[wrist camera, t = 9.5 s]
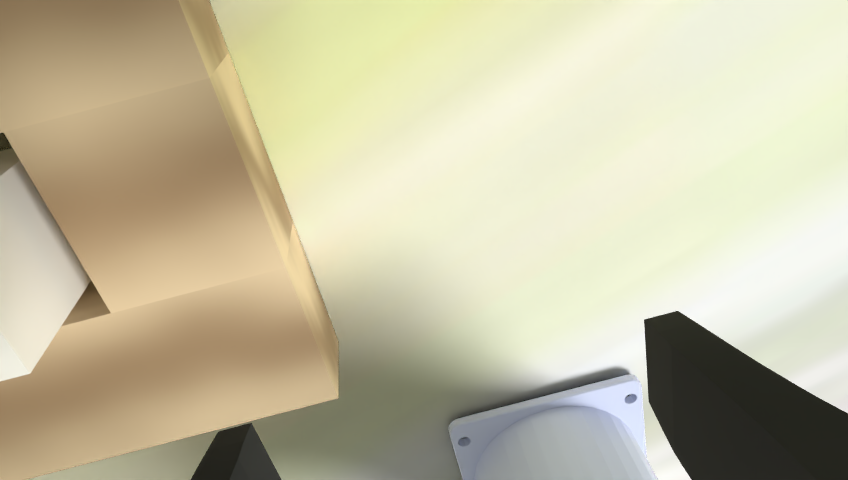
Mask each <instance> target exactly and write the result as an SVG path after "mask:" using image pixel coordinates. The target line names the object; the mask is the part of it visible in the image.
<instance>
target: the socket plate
mask: <svg viewBox="0 0 848 480" xmlns="http://www.w3.org/2000/svg"><path fill="white" fill-rule="evenodd" d="M3 132H4V134H5V136H6V138H7V139H8V141H9V143H10V144H11V146H12V148H13V149H14V151H15V153H16V154H17V156H18V158H19V159H20V161H21V163H22V164H23V166H24V168H25V169H26V171H27V173H28V175H29V176H30V178H31V180H32V181H33V183H34V185H35V186H36V188H37V190H38V191H39V193H40V195H41V196H42V198H43V200H44V201H45V203H46V205H47V207H48V208H49V210H50V212H51V213H52V215H53V217H54V218H55V220H56V222H57V223H58V225H59V227H60V228H61V230H62V232H63V233H64V235H65V237H66V238H67V240H68V242H69V244H70V245H71V247H72V249H73V250H74V252H75V254H76V255H77V257H78V259H79V260H80V262H81V264H82V265H83V267H84V269H85V270H86V272H87V274H88V275H89V277H90V279H91V281H90V283H89V284H88V286H87V287H86V289H85V291H84V292H83V294H82V295H81V297H80V298H79V300H78V301H77V303H76V304H75V306H74V307H73V309H72V310H71V312H70V314H69V315H68V317H67V318H66V320H65V321H64V323H63V324H62V326H61V327H60V329H59V330H58V332H57V333H56V335H55V336H54V338H53V340H52V341H51V343H50V344H49V346H48V347H47V349H46V350H45V352H44V353H43V355H42V356H41V358H40V359H39V361H38V363H37V364H36V366H35V367H34V369H33V370H32V372H31V373H30V374H27V375H23V376H19V377H15V378H12V379H8V380H4V381H0V480H26V479H30V478H34V477H38V476H42V475H45V474H49V473H53V472H57V471H61V470H65V469H69V468H72V467H76V466H80V465H84V464H88V463H92V462H95V461H99V460H103V459H107V458H111V457H115V456H119V455H122V454H126V453H130V452H134V451H138V450H142V449H145V448H149V447H153V446H157V445H161V444H165V443H169V442H172V441H176V440H180V439H184V438H188V437H192V436H195V435H199V434H203V433H207V432H211V431H215V430H219V429H222V428H226V427H230V426H234V425H238V424H242V423H245V422H249V421H253V420H257V419H261V418H265V417H269V416H272V415H276V414H280V413H284V412H288V411H292V410H295V409H299V408H303V407H307V406H311V405H315V404H319V403H322V402H326V401H330V400H334V399H338V398H339V342H338V339H337V336H336V334H335V331H334V328H333V326H332V323H331V320H330V318H329V315H328V313H327V310H326V307H325V305H324V302H323V299H322V297H321V294H320V291H319V289H318V286H317V284H316V281H315V278H314V276H313V273H312V270H311V268H310V265H309V262H308V260H307V257H306V255H305V252H304V249H303V247H302V244H301V241H300V239H299V236H298V233H297V231H296V228H295V226H294V223H293V220H292V218H291V215H290V212H289V210H288V207H287V204H286V202H285V199H284V197H283V194H282V191H281V189H280V186H279V183H278V181H277V178H276V175H275V173H274V170H273V168H272V165H271V162H270V160H269V157H268V154H267V152H266V149H265V146H264V144H263V141H262V139H261V136H260V133H259V131H258V128H257V125H256V123H255V120H254V117H253V115H252V112H251V110H250V107H249V104H248V102H247V99H246V96H245V94H244V91H243V88H242V86H241V83H240V81H239V78H238V75H237V73H236V70H235V67H234V65H233V62H232V59H231V57H230V54H229V52H228V49H227V46H226V44H225V41H224V38H223V36H222V33H221V30H220V28H219V25H218V23H217V20H216V17H215V15H214V12H213V9H212V7H211V4H210V1H209V0H0V133H3Z"/></svg>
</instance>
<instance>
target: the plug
mask: <svg viewBox="0 0 848 480" xmlns="http://www.w3.org/2000/svg"><path fill="white" fill-rule="evenodd" d="M90 281H91V279H90V277H89V275H88V274H87V272H86V270H85V269H84V267H83V265H82V264H81V262H80V260H79V259H78V257H77V255H76V254H75V252H74V250H73V249H72V247H71V245H70V244H69V242H68V240H67V238H66V237H65V235H64V233H63V232H62V230H61V228H60V227H59V225H58V223H57V222H56V220H55V218H54V217H53V215H52V213H51V212H50V210H49V208H48V207H47V205H46V203H45V201H44V200H43V198H42V196H41V195H40V193H39V191H38V190H37V188H36V186H35V185H34V183H33V181H32V180H31V178H30V176H29V175H28V173H27V171H26V169H25V168H24V166H23V164H22V163H21V161H20V159H19V158H18V156H17V154H16V153H15V151H14V149H13V148H10V149H6V150H2V151H0V381H4V380H8V379H12V378H15V377H19V376H23V375H27V374H30V373H31V372H32V370H33V369H34V367H35V366H36V364H37V363H38V361H39V359H40V358H41V356H42V355H43V353H44V352H45V350H46V349H47V347H48V346H49V344H50V343H51V341H52V340H53V338H54V336H55V335H56V333H57V332H58V330H59V329H60V327H61V326H62V324H63V323H64V321H65V320H66V318H67V317H68V315H69V314H70V312H71V310H72V309H73V307H74V306H75V304H76V303H77V301H78V300H79V298H80V297H81V295H82V294H83V292H84V291H85V289H86V287H87V286H88V284H89V283H90Z"/></svg>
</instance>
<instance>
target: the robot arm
mask: <svg viewBox="0 0 848 480" xmlns="http://www.w3.org/2000/svg"><path fill="white" fill-rule="evenodd" d="M644 324H645V342H646V360H647V378H648V396H649V403H650V405H651V407H652V409H653V411H654V413H655V415H656V417H657V419H658V421H659V423H660V426H661V428H662V430H663V432H664V434H665V436H666V437H667V439H668V441H669V443H670V445H671V447H672V449H673V451H674V453H675V455H676V456H677V458H678V459H679V461H680V462H681V464H682V466H683V467H684V469H685V470H686V472H687V473H688V475H689V476H690V478H691V479H692V480H848V413H846V412H844V411H842V410H840V409H838V408H837V407H835V406H833V405H831V404H829V403H827V402H825V401H823V400H822V399H820V398H818V397H816V396H814V395H813V394H811V393H809V392H807V391H806V390H804V389H802V388H800V387H799V386H797V385H795V384H794V383H792V382H790V381H789V380H787V379H785V378H784V377H782V376H780V375H779V374H777V373H775V372H773V371H772V370H770V369H768V368H767V367H765V366H763V365H762V364H760V363H759V362H757V361H755V360H754V359H752V358H751V357H749V356H747V355H746V354H744V353H743V352H741V351H739V350H738V349H736V348H735V347H733V346H732V345H730V344H728V343H727V342H725V341H724V340H722V339H721V338H719V337H718V336H716V335H715V334H713V333H711V332H710V331H708V330H707V329H705V328H704V327H702V326H701V325H699V324H698V323H696V322H694V321H693V320H691V319H690V318H688V317H687V316H685V315H683V314H682V313H680V312H679V311H675V312H672V313H668V314H664V315H660V316H656V317H653V318H649V319H645V320H644ZM629 394H631V395H630V396H628V397H626V396H627V395H629ZM449 434H450V438H451V442H452V445H453V448H454V452H455V455H456V459H457V462H458V465H459V469H460V472H461V476H462V479H463V480H658V478H657V476H656V475H655V473H654V471H653V469H652V467H651V466H650V464H649V462H648V460H647V454H646V440H645V426H644V413H643V399H642V386H641V383H640V381H639V380H638V378H637V377H636V376H635V375H631V374H630V375H624V376H620V377H616V378H612V379H608V380H604V381H600V382H597V383H593V384H589V385H585V386H581V387H577V388H573V389H570V390H566V391H562V392H558V393H554V394H550V395H546V396H543V397H539V398H535V399H531V400H527V401H523V402H519V403H516V404H512V405H508V406H504V407H500V408H496V409H492V410H489V411H485V412H481V413H477V414H473V415H469V416H466V417H462V418H458V419H456V420H453V421H452V422H451V423H450V425H449ZM463 437H467V438H465V439H461V438H463ZM191 480H281V478H280V476H279V474H278V473H277V471H276V469H275V467H274V465H273V463H272V461H271V459H270V457H269V455H268V454H267V452H266V450H265V448H264V446H263V444H262V442H261V440H260V438H259V436H258V434H257V433H256V431H255V429H254V427H253V425H252V423H250V424H246V425H242V426H238V427H234V428H231V429H227V430H223V431H219V432H218V433H217V435H216V437H215V438H214V440H213V442H212V443H211V445H210V447H209V448H208V450H207V452H206V454H205V455H204V457H203V459H202V461H201V462H200V464H199V466H198V468H197V469H196V471H195V473H194V475H193V476H192V478H191Z"/></svg>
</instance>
